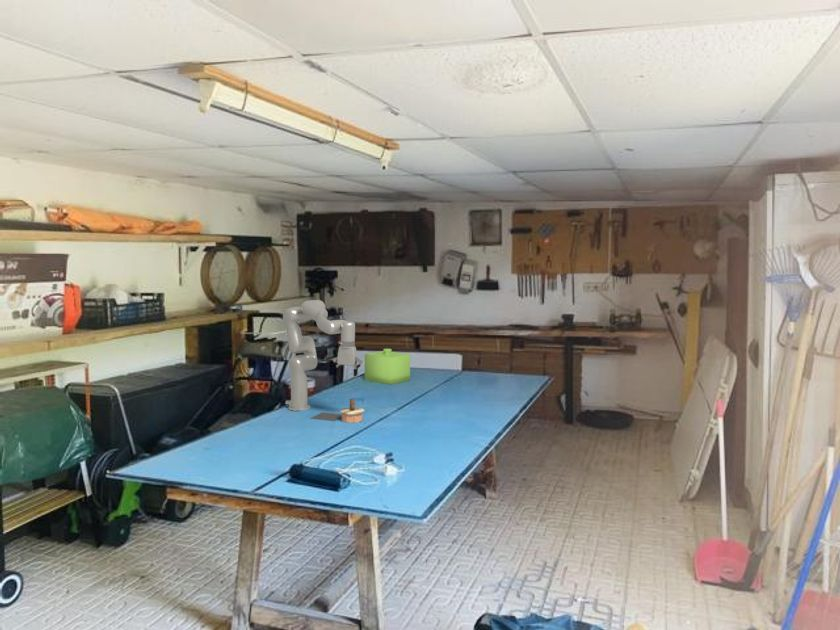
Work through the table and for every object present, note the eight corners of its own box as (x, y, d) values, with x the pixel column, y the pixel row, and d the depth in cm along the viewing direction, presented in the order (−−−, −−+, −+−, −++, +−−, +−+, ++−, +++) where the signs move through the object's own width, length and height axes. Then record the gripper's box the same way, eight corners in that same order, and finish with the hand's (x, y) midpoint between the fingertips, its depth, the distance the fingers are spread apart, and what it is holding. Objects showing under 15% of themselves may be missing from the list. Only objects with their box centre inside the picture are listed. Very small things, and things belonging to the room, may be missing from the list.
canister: (409, 380, 476) (410, 349, 474) (390, 385, 459) (390, 352, 457) (384, 376, 491) (384, 345, 489) (364, 380, 475) (364, 348, 473)
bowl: (340, 423, 355) (340, 414, 354) (344, 418, 365) (344, 409, 365) (360, 424, 354) (360, 414, 354) (363, 419, 365) (363, 410, 364)
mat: (309, 419, 362) (309, 418, 362) (321, 413, 376) (321, 412, 376) (334, 422, 357) (334, 421, 357) (345, 415, 371) (345, 414, 371)
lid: (336, 413, 356) (336, 400, 355) (347, 408, 368) (347, 395, 367) (357, 415, 351) (357, 402, 350) (368, 410, 363) (368, 398, 363)
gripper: (330, 343, 356) (329, 374, 358) (359, 346, 351) (359, 377, 353) (336, 342, 363) (335, 372, 365) (365, 344, 358) (364, 375, 360)
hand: (347, 375), depth 359 cm, fingers open, 9 cm apart
